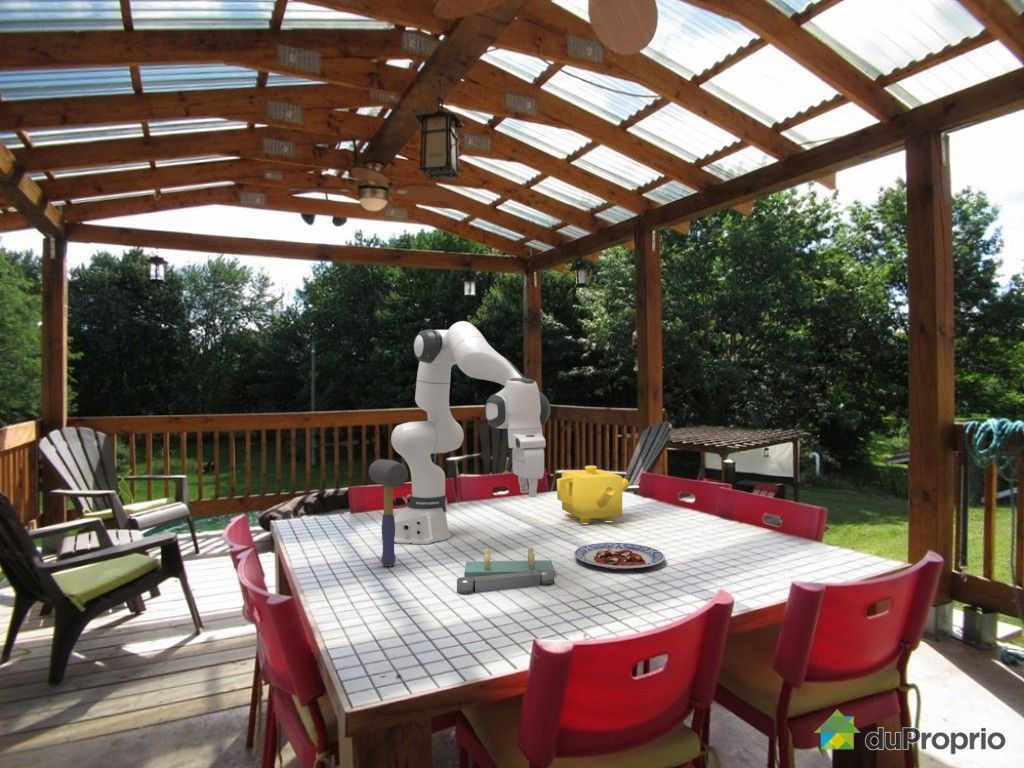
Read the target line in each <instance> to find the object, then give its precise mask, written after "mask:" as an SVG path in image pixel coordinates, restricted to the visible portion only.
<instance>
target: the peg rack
mask: <svg viewBox="0 0 1024 768" xmlns="http://www.w3.org/2000/svg"><path fill="white" fill-rule="evenodd" d="M535 556H536V555H535V553H534V548H533V547H527V560H491V548H489V547H487V548H486V547H485V548H484V559H483V560H484V561H483V560H481V561H480V560H477V561H476V560H475V561H474V560H472V561H471V560H470V561H467V560H466V561H465V566H464V572H463V573H464V575H463V577H479V576H489V575H499V574H510V573H520V572H530V571H538V570H542V569H549V570H553V571H554V578H555V577H556V571H555V567H554V565H553V561H552V560H550V559H542V560H539V559H538V560H535Z"/></svg>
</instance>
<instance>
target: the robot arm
mask: <svg viewBox="0 0 1024 768" xmlns="http://www.w3.org/2000/svg"><path fill="white" fill-rule="evenodd" d="M413 341H414V342H413V353H414V356H415V358H416V359H417V360H418V363H419V364H418V369H417V374H416V375H417V376H416V382H415V386H416V387H415V395H414V400H415V403H416V405H417V406H418V408H420V409H421V410H423V411H425V412H426V414H427V420H421V421H409V422H405V423H401V424H398V425H396V426H395V428H394V429H393V430H392V432H391V439H390V441H391V442H390V443H391V446H392V448H393V449H394V451H395V452H396V453H397V454H399V455H400V456H401V457H402V458H403V459H404V460H405V462H406V463H407V465H408V467H409V468H408V469H409V470H410V471H409V472H410V477H411V494H407V495H406V497H405V506H406V507H404V508H403V509H402V510H400V511H399V512H398V513H397V514H395V515H394V520H395V538H394V542H396V543H395V544H409V543H412V544H415V545H419V544H420V545H429V544H433V543H436V542H440V541H444V540H445V541H446V540H448V539H449V538H450V537H451V533H450V530H449V526H448V520H447V510H448V497H447V494H446V474H445V471H444V470H443V469H442V467H440V466H439V465H438V464H436V463H435V464H434V462H433V460H432V456H431V454H443V453H449V452H452V451H455V450H458V449H459V448H461V446H462V444H463V441H464V438H465V437H464V436H465V435H464V429H463V428H462V426H461V425H460V423H459V422H457V421H456V420H455V418H454V417H453V415H452V411H451V409H450V390H451V389H450V388H451V371H452V368H453V366H454V365H457V367H458V368H459V369H460V371H462V373H463V374H465V375H466V376H468V377H470V378H471V379H472V378H473V379H477V380H485V381H490V382H494V383H498V384H499V385H502V386H504V387H503V388H502V389H501V390H500V391H498V392H496V393H494V394H491V395H490V397H488V399H487V400H486V402H485V405H484V416H485V419H486V421H487V423H488V424H489V425H490V426H492V428H495V429H507V441H508V448H509V449H512V462H511V463H512V473H513V475H516V476H517V477H518V478H517V479H518V483H519V490H520V491H519V492H520V493H521V494H528V496H529V497H531V498H535V497H537V496H538V492H537V490H538V484H539V481H538V480H539V479H540V480H542V479H543V477H544V475H545V451H544V448H546V446H547V445H546V439H545V437H544V436H543V435H544V434H543V426H544V425H545V424H546V423H547V421H548V420H549V418H550V415H551V413H552V412H551V411H552V410H551V404H550V402H549V400H548V397H546V395H545V394H544V393H543V392H542V391H540V390H539V386H538V384H537V381H535V380H534V379H531V378H527V377H526V376H524V374H522V372H520V370H519V369H518V368H517V367H516V365H514V364H513V363H512V362H511V361H510V360H508V359H507V358H506V357H504V356H502V355H501V354H500V353H499V352H498V351H496V350H495V349H494V348H493V347H492V346H491V345H490V344H489V343H488V341H487V340H486V338H485V337H484V336H483V334H482V333H481V331H480V330H479V329H478V328H477V327H476V326H474V325H473V324H472V323H471V322H468V321H465V320H462V321H457V322H455V323H453V324H452V325H451V326H450V327H449V328H448V329H433V328H431V329H429V328H428V329H424V330H420V331H419V332H418V333H417V335H416V336H415V338H414V340H413ZM382 540H383V539H382V538H381V541H382ZM412 544H411V545H412Z"/></svg>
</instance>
